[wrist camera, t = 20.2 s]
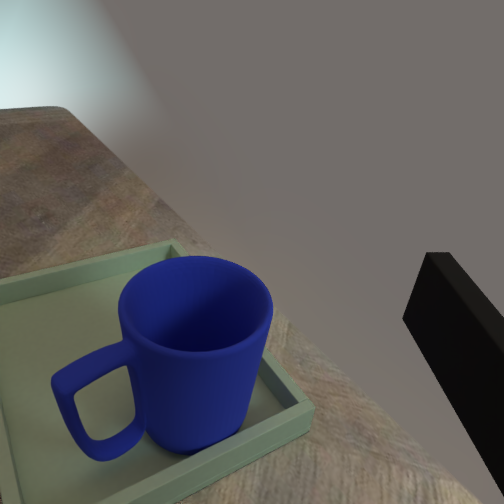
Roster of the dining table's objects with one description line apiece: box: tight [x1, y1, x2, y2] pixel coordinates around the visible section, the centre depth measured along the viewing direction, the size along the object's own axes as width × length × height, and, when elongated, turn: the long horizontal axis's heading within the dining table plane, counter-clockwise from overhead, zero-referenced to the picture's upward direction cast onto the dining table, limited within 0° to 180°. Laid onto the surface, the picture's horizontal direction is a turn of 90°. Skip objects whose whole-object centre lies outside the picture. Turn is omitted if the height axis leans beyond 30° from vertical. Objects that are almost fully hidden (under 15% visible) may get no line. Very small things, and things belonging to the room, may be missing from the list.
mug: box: [51, 256, 273, 462], centre depth 26 cm, size 8×12×10 cm
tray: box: [0, 238, 315, 504], centre depth 33 cm, size 22×18×3 cm
